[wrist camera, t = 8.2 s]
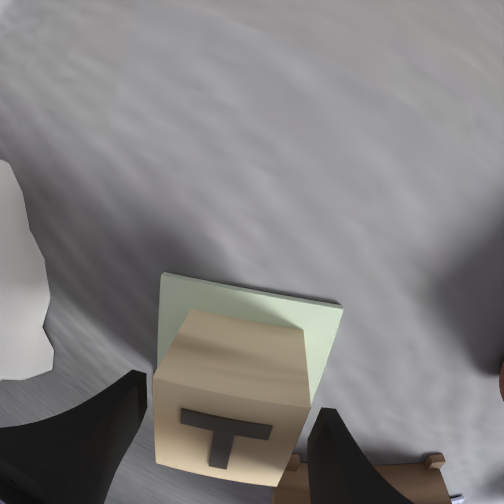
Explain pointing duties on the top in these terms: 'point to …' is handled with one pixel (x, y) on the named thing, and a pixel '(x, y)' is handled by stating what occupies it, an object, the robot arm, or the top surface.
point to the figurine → (21, 288)
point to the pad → (248, 315)
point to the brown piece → (399, 476)
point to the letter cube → (231, 398)
